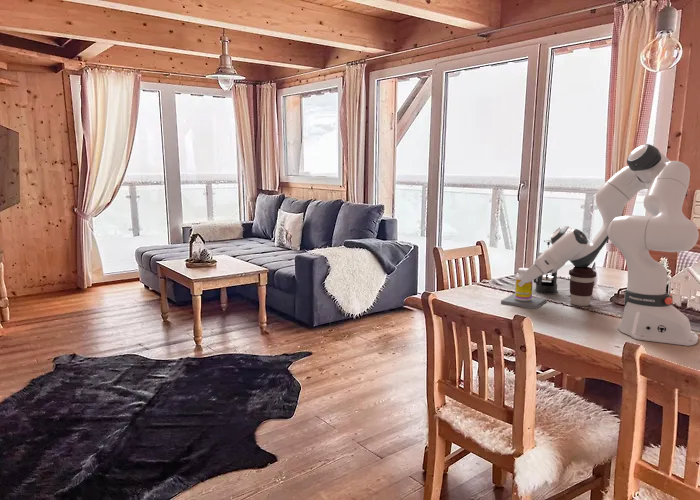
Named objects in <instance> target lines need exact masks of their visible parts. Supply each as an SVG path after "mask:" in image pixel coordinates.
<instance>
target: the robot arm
mask: <svg viewBox="0 0 700 500" xmlns="http://www.w3.org/2000/svg"><path fill="white" fill-rule="evenodd" d="M626 164H627V165H626V166H625V167H623V168H622V169H620V170H618V171H617V172H616V173H614V174H613V175H612V176H611V177H610V178H609V179H608V180H606V181H605V183H604V184H602V185H601V187H599V189H598V190H597V192H596V194H595V204H596V207H597V208H598V209H597V210H598V211H599V213H600V215H601V217H602V221H603V222H602V223H603V224H602V227H601V228H600V230H599V231H598V232H597V234H596V235H595V236H594V238H593V239H592V240H591V241H590V242H589V240H588V238H587V236H586V234H585V233H584V232H583V231H581V230H580V229H577V228H572V227H570V226H569V225H568V226H567V225H564V226H559V228H557V229H556V230H555V231H554V232H553V233H551V235H550V240H551V242H550V244H551V246H549V248H548V247H547V248H546V250H544V251H543V252H541V253H542V254H540V255H539V256H538V255H537V258H536V259H535V260H534V261H533V264H532V265H531V266H529V269H528V270H527V271H526V272H525V273H524V274H523V275H522V280H521V281H520V282H519V283H518V285H519V286H520V287H521V286H523V285H524V284H525V283H529V282H531V281H532V282H534V280H535V279H536V278H538V277H540V276H542V275H548V274H552V273H555V272H556V271H557V272H558V271H559V270H560V269H561V268H562V267H564V266H565V264H566V263H567V262H570V263H571V264H572V265H573V267H590V265H592V264H593V262H594V261H595V259H597V257H598V255H599V253H600V252H601V250H602V249H603V247H604V246H605V245H606V243H607V242H608V241H609V240H610V242H611V243H612V245H614V246H615V247H616V248H617V249H618V250H619V251H620V252H621V254H622V256H623V258H624V260H625V263H626V268H627V283H626V284H627V285H626V286H627V287H626V289H625V292H624V298H623V299H624V300H623V301H624V302H623V303H624V310H623V315H622V318H621V321H620V324H619V326H618V331H619V332H621V333H623V334H626V335H628V336H630V337H631V338H633V339H635V340H639V341H640V340H641V341H647V342H648V341H649V342H656V343H663V344H672V345H679V346H687V347H688V346H689V347H691V346H694V345H696V344H697V343H699V335H698V333H696V332H694V331H692V326H691V323H690V319H689V318H688V316H686V315H685V314H684V313H682V312H681V310H679V309H678V308H676V307H675V306H674V305H673V301H674V300H673V294H670V293H667V291H666V290H667V280H668V270H667V268H666V267H665V266H664V265H663V264H662V263H661V262H659V261H658V260H655V259H654V258H653V257H652V255H651V254H650V251H656V252H666V253H677V252H678V253H679V252H680V253H681V252H689V251H690V250H692V249H693V248H694V247H695V246H696V245H697V243H698V241H699V236H700V235H699V234H700V233H699V229H698V227H697V225H696V224H695V223H694V222H693V221H692V220H691V219H689V217H688V218H687V216H685V214H684V213H683V204H684V202H685V199H686V198H685V197H686V195H687V193H688V190H689V185H690V179H691V170H690V167H689V166H688V165H687V164H685V163H684V162H682V161H680V160H670V159H669V158H668V157H667V156H666V155H665V154H664V153H662V152H661V151H660V150H659V149H658V148H657V147H656V146H654V145H652V144H650V143H647V144H640V145H638V146H637V147H635V148H634V149H633V150H632V151H630V152H629V154H628V156H627V159H626ZM643 190H646V191H647V192H646V194H645V197H644V198H643V206H644V209H645V210H646V212H648V214H650V215H651V216H649V215H634V214H633V215H632V214H630V215H624V214H623V212H624V209H625V207H626V205H627V204H628V203H629V202H630V201H631V200H632V199H633V198H634V197H635V196H636V195H637V194H638V193H639V192H640V191H643ZM547 273H548V274H547Z"/></svg>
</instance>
